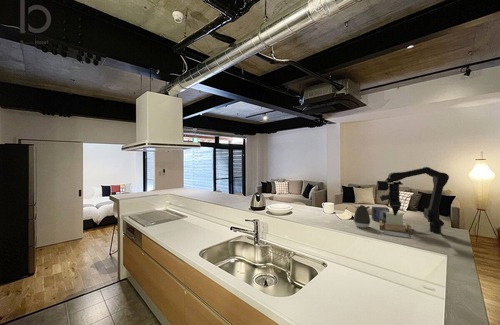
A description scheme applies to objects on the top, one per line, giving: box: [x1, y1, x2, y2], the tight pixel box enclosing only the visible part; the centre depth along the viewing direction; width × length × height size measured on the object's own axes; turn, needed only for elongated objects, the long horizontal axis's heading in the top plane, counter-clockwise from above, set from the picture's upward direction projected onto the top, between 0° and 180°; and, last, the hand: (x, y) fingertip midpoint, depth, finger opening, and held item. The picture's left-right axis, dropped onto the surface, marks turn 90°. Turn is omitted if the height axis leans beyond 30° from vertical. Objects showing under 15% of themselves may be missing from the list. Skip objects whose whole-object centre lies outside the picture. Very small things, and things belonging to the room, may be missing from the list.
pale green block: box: [385, 212, 404, 225], centre depth 142 cm, size 3×9×10 cm, turn 58°
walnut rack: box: [378, 220, 413, 235], centre depth 140 cm, size 15×17×3 cm
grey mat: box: [383, 231, 411, 239], centre depth 129 cm, size 7×13×1 cm, turn 58°
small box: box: [371, 206, 390, 223], centre depth 159 cm, size 11×6×10 cm, turn 72°
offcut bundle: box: [384, 222, 406, 232], centre depth 136 cm, size 2×11×4 cm, turn 58°
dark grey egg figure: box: [353, 204, 371, 229], centre depth 145 cm, size 10×10×15 cm
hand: (394, 213), depth 142 cm, fingers open, 9 cm apart
